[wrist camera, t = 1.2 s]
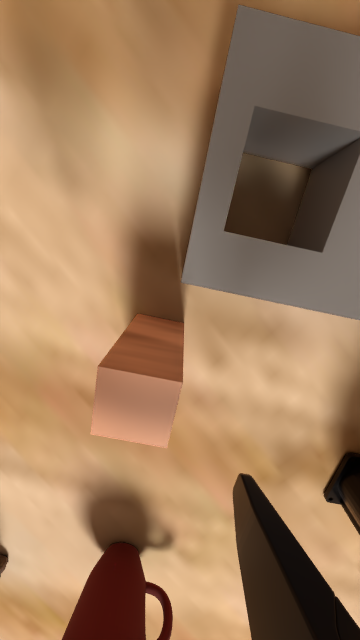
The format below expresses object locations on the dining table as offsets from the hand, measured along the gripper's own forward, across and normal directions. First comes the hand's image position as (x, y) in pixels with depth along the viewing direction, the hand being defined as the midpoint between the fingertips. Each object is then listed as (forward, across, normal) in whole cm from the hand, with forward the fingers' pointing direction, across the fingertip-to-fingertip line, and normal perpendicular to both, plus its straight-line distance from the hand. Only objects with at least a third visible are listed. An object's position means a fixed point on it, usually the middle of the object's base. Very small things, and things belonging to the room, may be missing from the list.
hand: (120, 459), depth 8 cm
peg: (+12, 0, 0) cm, 12 cm away
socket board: (+12, -10, -12) cm, 19 cm away
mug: (+12, -2, +29) cm, 32 cm away
